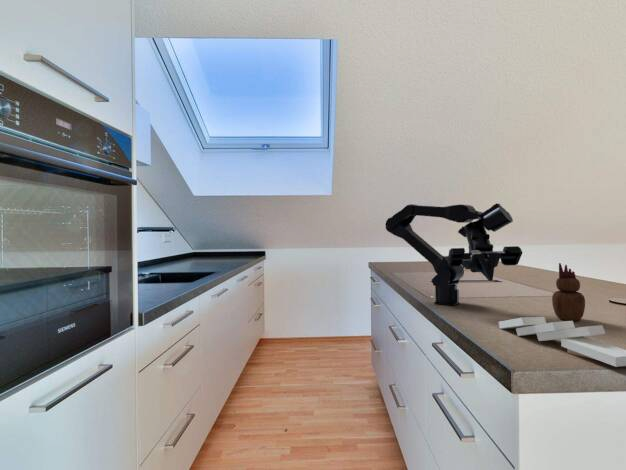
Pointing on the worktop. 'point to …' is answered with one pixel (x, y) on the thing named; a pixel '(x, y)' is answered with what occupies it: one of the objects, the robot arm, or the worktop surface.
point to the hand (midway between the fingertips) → (490, 280)
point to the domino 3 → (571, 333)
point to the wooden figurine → (568, 296)
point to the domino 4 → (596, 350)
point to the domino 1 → (522, 322)
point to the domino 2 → (545, 328)
